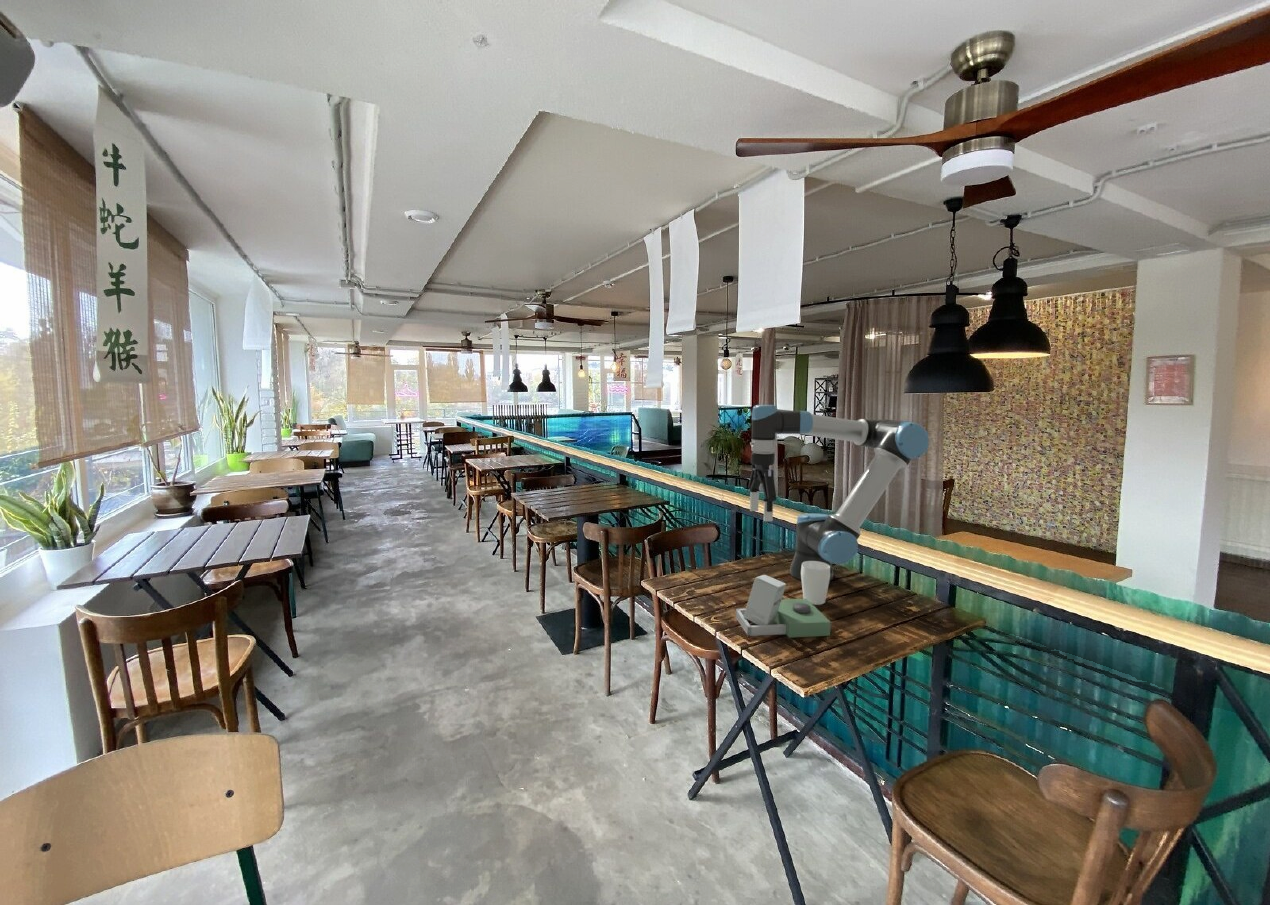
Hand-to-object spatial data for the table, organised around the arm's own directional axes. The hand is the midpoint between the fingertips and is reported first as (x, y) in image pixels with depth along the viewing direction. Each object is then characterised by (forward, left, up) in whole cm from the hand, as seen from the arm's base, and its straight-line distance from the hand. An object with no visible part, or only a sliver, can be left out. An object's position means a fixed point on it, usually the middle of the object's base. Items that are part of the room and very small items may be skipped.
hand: (760, 515), depth 169 cm
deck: (+1, +23, -27) cm, 35 cm away
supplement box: (+8, +23, -26) cm, 35 cm away
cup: (-16, +8, -27) cm, 32 cm away
